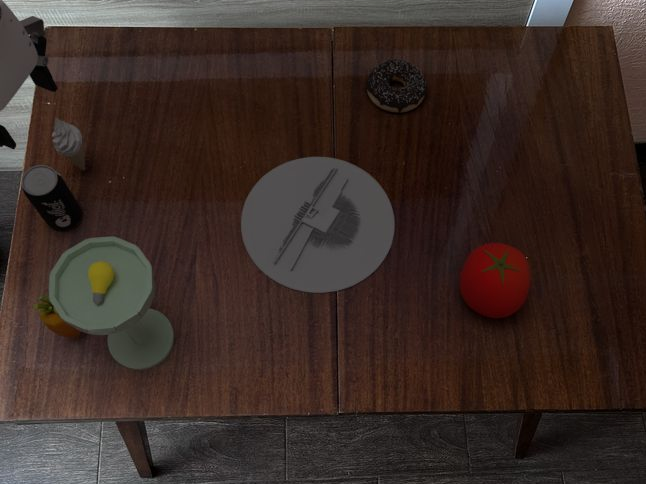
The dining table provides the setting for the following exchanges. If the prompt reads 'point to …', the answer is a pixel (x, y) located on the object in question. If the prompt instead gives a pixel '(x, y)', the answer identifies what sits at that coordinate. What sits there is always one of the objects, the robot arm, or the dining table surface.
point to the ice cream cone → (69, 143)
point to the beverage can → (51, 197)
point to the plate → (317, 224)
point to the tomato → (495, 280)
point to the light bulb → (100, 279)
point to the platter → (121, 296)
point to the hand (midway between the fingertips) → (26, 114)
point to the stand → (143, 342)
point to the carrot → (54, 319)
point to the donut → (396, 97)
